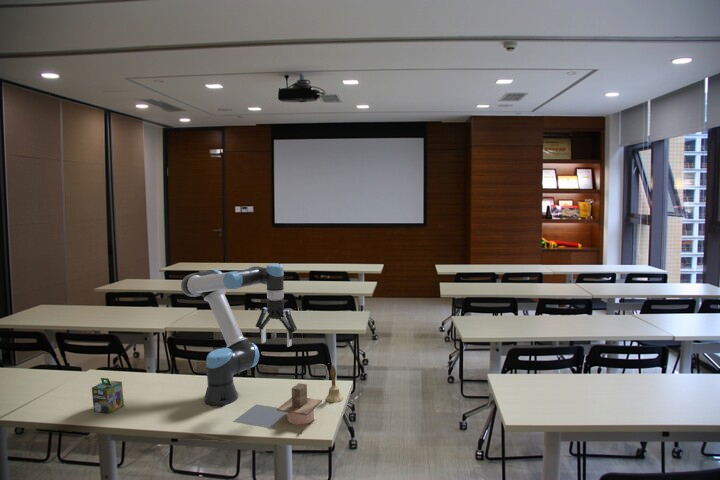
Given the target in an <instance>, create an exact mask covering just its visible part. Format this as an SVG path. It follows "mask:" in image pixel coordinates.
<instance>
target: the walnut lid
mask: <svg viewBox="0 0 720 480" xmlns="http://www.w3.org/2000/svg"><path fill="white" fill-rule="evenodd" d="M322 402H323V400H322V399H318V398H317V399H316V398H309V397H308V383H307V384H306V383H296V384H295V385H294V386H292V387H291V397H290V398H289V399H288V400H286V401H285V402H284V403H282V404H281V405H280V406H279V407H277V408H278V409H277V411H281V412H288V413H294V414H300V415H306V416H307V415H308V414H309V413H310V412H311V411H313V410H315V409H316V408H317V407H318V406H319V405H320V404H321V403H322Z"/></svg>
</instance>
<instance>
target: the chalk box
mask: <svg viewBox="0 0 720 480" xmlns="http://www.w3.org/2000/svg"><path fill="white" fill-rule="evenodd" d="M100 380H101V383H97V384H96V385H94V386H92V387H91V395H92V403H93V404H92V405H93V406H92V407H93V411H94V412H97V413H104V414H108V413H109V414H111V413H112V412H114V411H116V410H118V409H119V408H122V407H123V406H125V401H124V391H123V390H124V389H123V382H122V381H119V380H110V379H109V378H107V377H100Z"/></svg>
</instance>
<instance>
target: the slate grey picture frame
mask: <svg viewBox="0 0 720 480" xmlns="http://www.w3.org/2000/svg"><path fill="white" fill-rule="evenodd" d="M278 408H279V407H276V406H269V405H262V404H254V405H253V406H252V407H250V408H249V409H247V410H246V411H244V413H243V414H241V415H239V416H238V417H236V418H235V419H234V420H233V421H232V423H238V424H243V425H249V426H256V427H261V428H267V429H270V428H272V427H273V425H275V424H276V423H277V422H279V420H281V419H282V418H284V416H287V412H281V411H277V409H278Z"/></svg>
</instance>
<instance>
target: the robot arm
mask: <svg viewBox="0 0 720 480" xmlns="http://www.w3.org/2000/svg"><path fill="white" fill-rule="evenodd" d="M284 275H285V273H284V266H283V264H280V263H279V264H278V263H270V264H267V265H266V267H265V266H264V267H263V266H258V265H255V266H253V265H252V266H250V267H249V268H246V269H241V270H235V271H234V270H233V271H228V272H222V271H221V270H219V269H210V270H209V269H208V270H205V271H199V272H194V273H190V274H188V275H186V276H185V277H183V279H182V281H181V283H180V288H181V292H183V293H184V295H186V296H188V297H192V298H193V297H194V298H196V297H200V296H202V298H203V300H204V301H205V302H208V305H209V307H210V309H211V311H212V313H213V315H214V318H215V320H216V323H217V325H218V328H219V329H220V331H221V334H222V336H223V339H224V341H225V343H226V347H222V348H216V349H214V350H212V351H210V352H209V353H208V354H207V356H206V363H205V365H206V378H207V387H206V390H205V391H206V392H205V394H204V404H205V405H206V406H209V407H215V408H217V407H225V406H227V405H229V404H232V403H234V402H235V401H237V400H238V398H239V393H238V391H237V388H236V386H235V383H234V375H236V374H239V373H241V372H243V371H247V370H250V369H251V368H254V367H255V366H256V365H257V364H258V362H259V360H260V352H259V348H258V346H257V345H256V344H255V343H254V342H250V341H249V338H248V337H244V335H243V333H242V330H241V328H240V326H239V323H238V321H237V319H236V317H235V315H234V312H233V311H232V308H231V306H230V304H229V301H228V299H227V297H226V292H227V290H237V289H241V288H244V287H249V286H254V285H258V284H259V285H260V284H262V285H266V297H267V299H266V300H267V301H266V306H267V307H266V306H265V307H262V308H261V310H260V315H259V317H258V319H257V321H256V324H255V327H256V328H258V329H259V336H261V337H260V338H261V339H260V341H261V342H260V343H261V344H265V343H266V342H267V327H266V325H268V323H269V321H271V320H272V319H273V320H274V319H275V320H279V321H280V322H281V323H282V325H283V326H284V327H285V329H286V331H287V332H286V347H287V348H289V347H291V346H293V344H292V343H293V340H292V339H293V338H294V332H295V331H297V329H298V328H297V326H296V324H295V321H294V319H293V317H292V313H291V309H286V310H285V308H284V307H285V299H284V297H285V293H284V292H285V291H284V290H285V287H284V286H285V285H284V280H285V279H284ZM266 314H267V316H266ZM265 316H266V317H265Z"/></svg>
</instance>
